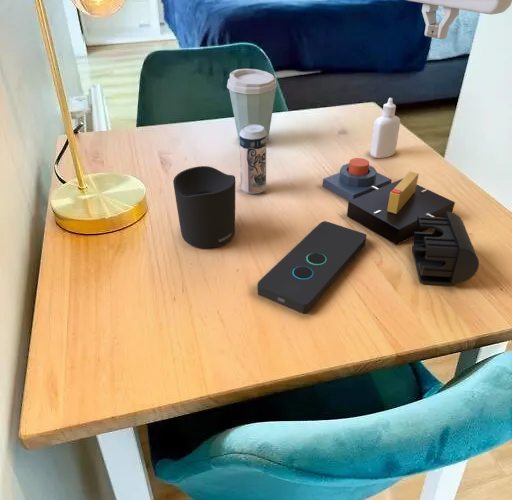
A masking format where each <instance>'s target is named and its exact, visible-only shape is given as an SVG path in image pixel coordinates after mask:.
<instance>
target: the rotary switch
mask: <svg viewBox="0 0 512 500" xmlns="http://www.w3.org/2000/svg"><path fill="white" fill-rule="evenodd" d="M402 179H403V178H401V179H398V180H396V181H393V182H391V184H388V185H386V186H384V187H381V188H377V187H375V186H372V187H373V188H375V189H377V190H374V191H372V192H369V193H367V194H365V195H362V196H360V197H357V198H355V199H353V200H350V201H348V200H347V201H348V203H347V210H346V217H347V218H349V219H351V220H352V221H354V222H355V223H358V224H359V225H360V226H363V227H364V228H366V229H368V230H370V231H371V232H373V233H375V234H376V235H378V236H380V237H381V238H383V239H384V240H387V241H388V242H390V243H392V244H393V245H395V246H398V245H399V244H401V243H403V242H405V241H408V240H410V239H411V238H413V236H414V232H425V231H427V230H429V229H428V228H420V226H416V222H417V217H418V216H424V217H445V213H446V211H447V212H452V213H454V208H455V205H456V204H455V203H456V202H455V201H454V200H451V199H449V198H447V197H445V196H442V195H440V194H439V193H437V192H434V191H432V190H430V189H428V188H426V187H423V186H421V185H419V184H417V185H416V190H415V192H414V194H413V195H412V196H411V197H410V198H409V200H408V201H407V202H406V203H405V204H404V206H403V207H402V208H401V209H400V210H399V211H398V213H397V214H395V213H391V212H388V211H387V209H388V203H389V197H390V192H391V191H392V190H393V189H394V188H395V187H396V186H397V185H398V184H399V183H400V182H401V180H402Z"/></svg>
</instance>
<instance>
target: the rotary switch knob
mask: <svg viewBox="0 0 512 500" xmlns="http://www.w3.org/2000/svg"><path fill="white" fill-rule="evenodd" d="M419 175H420V174H419V173H418V172H415V171H409V172H408V173H406V175H405V176H404V177H403V178H401V179H402V180H401V182H400V183H399V184H398V185H397V186H396V187H395V188H394V189H393V190H392V191H391V192H390V197H389V203H388V209H387V211H388V212H391V213H395V214H397V213H398V211H399V210H400V209H401V208H402V207H403V206H404V204H405V203H406V202H407V201H408V200H409V198H410V197H411V196H412V195H413V194H414V192H415V190H416V185H418V179H419Z"/></svg>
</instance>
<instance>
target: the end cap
mask: <svg viewBox="0 0 512 500" xmlns="http://www.w3.org/2000/svg"><path fill="white" fill-rule="evenodd" d="M416 226H420V228H428V229H427V230H429V229H430V230H433V231H431V232H428V231H426V232H425V231H423V232H414V236H413V237H412V247H411V252H412V257H413V261H414V265H415V269H416V274H417V277H418V281H419V283H420V284H421V285H426V286H427V285H428V286H442V287H450V286H451V287H452V286H455V285H457V284H462V283H465V282H467V281H469V280H470V279H472V278H473V277H474V276H475V275H476V274H477V272H478V270H479V266H480V260H479V257H478V255H477V253H476V251H475V250H476V249H475V248H474V246H473V243H472V241H471V238H470V236H469V234H468V231H467V229H466V226H465V224H464V222H463V219H462V218H461V217H460V216H459V214H457V213H455V212H447V211H446V213H445V217H424V216H418V217H417V222H416Z"/></svg>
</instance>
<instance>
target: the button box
mask: <svg viewBox="0 0 512 500" xmlns="http://www.w3.org/2000/svg"><path fill="white" fill-rule="evenodd" d="M348 170H349V162H348V163H346V164H343V165H341V167H340V169H339V172H337V173H334V174H332V175H329V176H327V177H324V178H323V179H322V188H324V189H326V190H327V191H330V192H331V193H333V194H335V195H337V196H339V197H341V198H342V199H344V200H345V201H350V200H353V199H355V198H357V197H360V196H362V195H365V194H367V193H369V192H372V191H374V190H377V189H375V188H373V187H372V186H375V187H377V188H381V187H384V186H386V185H388V184H391V183H392V178H391V177H387V176H385V175H383V174H381V173H379V172H378V171H377V170H376V168H375V167H374V166H373V165H370V164H369V169H368V174H366V175H360V176H358V175H352V174H350V173H349V172H348Z"/></svg>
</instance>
